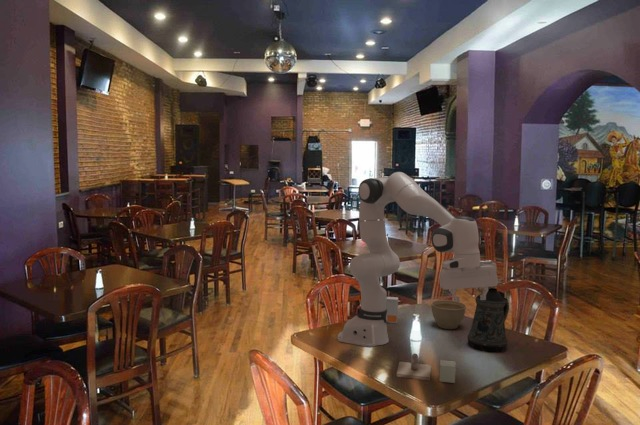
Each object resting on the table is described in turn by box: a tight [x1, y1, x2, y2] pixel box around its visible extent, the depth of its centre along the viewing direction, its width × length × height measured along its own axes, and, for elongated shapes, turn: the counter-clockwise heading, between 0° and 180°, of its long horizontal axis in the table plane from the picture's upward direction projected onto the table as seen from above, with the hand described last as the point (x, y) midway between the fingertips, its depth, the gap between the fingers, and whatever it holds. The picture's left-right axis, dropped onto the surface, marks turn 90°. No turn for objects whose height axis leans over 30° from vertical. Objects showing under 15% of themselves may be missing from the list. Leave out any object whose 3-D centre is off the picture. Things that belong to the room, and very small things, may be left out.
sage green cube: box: [438, 359, 457, 384], centre depth 191 cm, size 5×5×6 cm
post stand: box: [396, 352, 432, 381], centre depth 197 cm, size 12×12×7 cm
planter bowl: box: [431, 299, 467, 330], centre depth 254 cm, size 16×16×11 cm
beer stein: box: [467, 287, 510, 354], centre depth 228 cm, size 16×19×25 cm
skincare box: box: [386, 296, 399, 324], centre depth 259 cm, size 6×4×12 cm
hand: (470, 300), depth 187 cm, fingers open, 8 cm apart
